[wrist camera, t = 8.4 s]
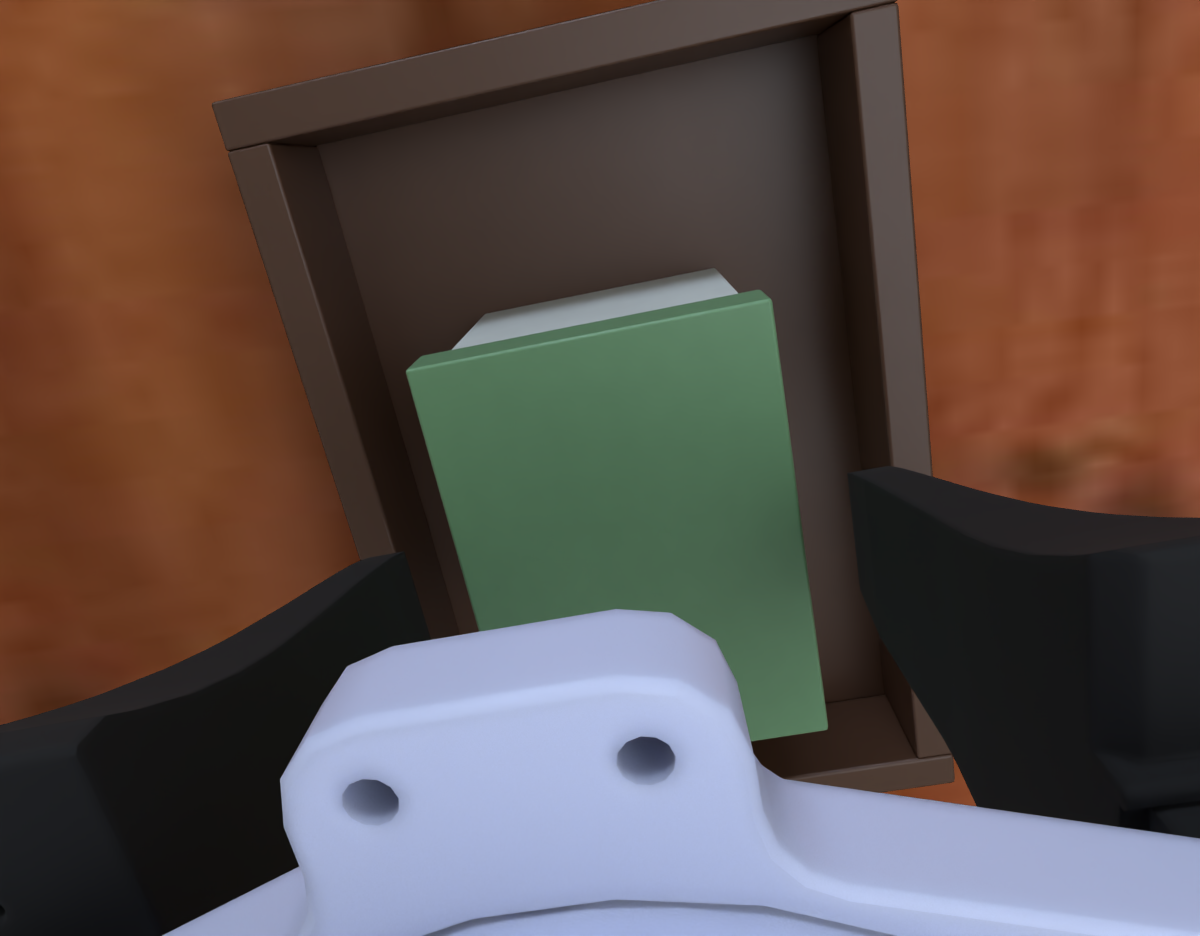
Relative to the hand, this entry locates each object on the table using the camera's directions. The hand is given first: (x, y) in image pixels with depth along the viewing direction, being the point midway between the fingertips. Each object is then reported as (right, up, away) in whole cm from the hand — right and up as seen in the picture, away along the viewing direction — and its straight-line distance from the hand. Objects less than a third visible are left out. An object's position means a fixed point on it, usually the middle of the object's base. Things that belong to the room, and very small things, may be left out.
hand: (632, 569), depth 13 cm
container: (0, +2, +5) cm, 6 cm away
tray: (0, +2, +6) cm, 7 cm away
